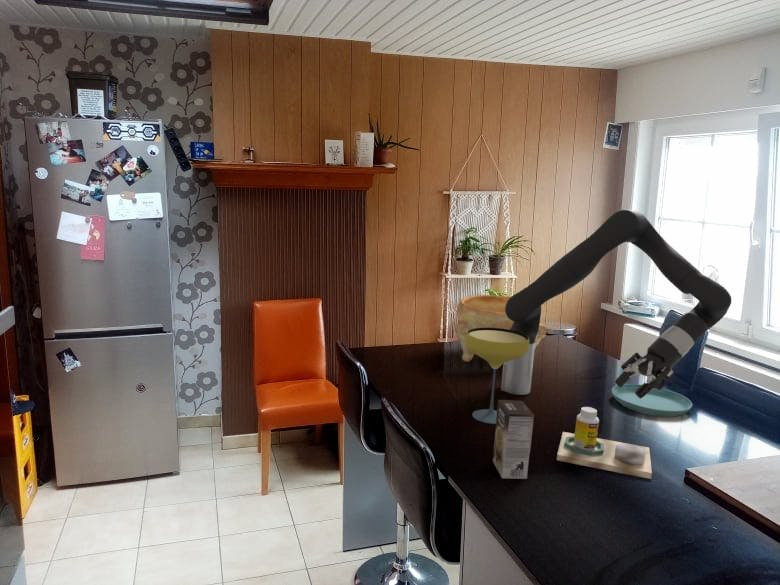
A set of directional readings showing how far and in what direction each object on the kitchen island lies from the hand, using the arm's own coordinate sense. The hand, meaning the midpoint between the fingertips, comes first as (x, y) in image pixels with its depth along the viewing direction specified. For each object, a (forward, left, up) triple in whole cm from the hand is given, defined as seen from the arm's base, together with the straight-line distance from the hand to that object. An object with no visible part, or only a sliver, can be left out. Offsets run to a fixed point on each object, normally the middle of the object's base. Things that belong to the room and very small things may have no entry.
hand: (627, 390), depth 159 cm
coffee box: (-25, -25, -17) cm, 39 cm away
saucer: (+9, +43, -17) cm, 47 cm away
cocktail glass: (-36, +7, -17) cm, 40 cm away
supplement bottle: (-9, -6, -15) cm, 19 cm away
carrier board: (-4, -6, -17) cm, 18 cm away
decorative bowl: (-49, +70, -17) cm, 87 cm away
